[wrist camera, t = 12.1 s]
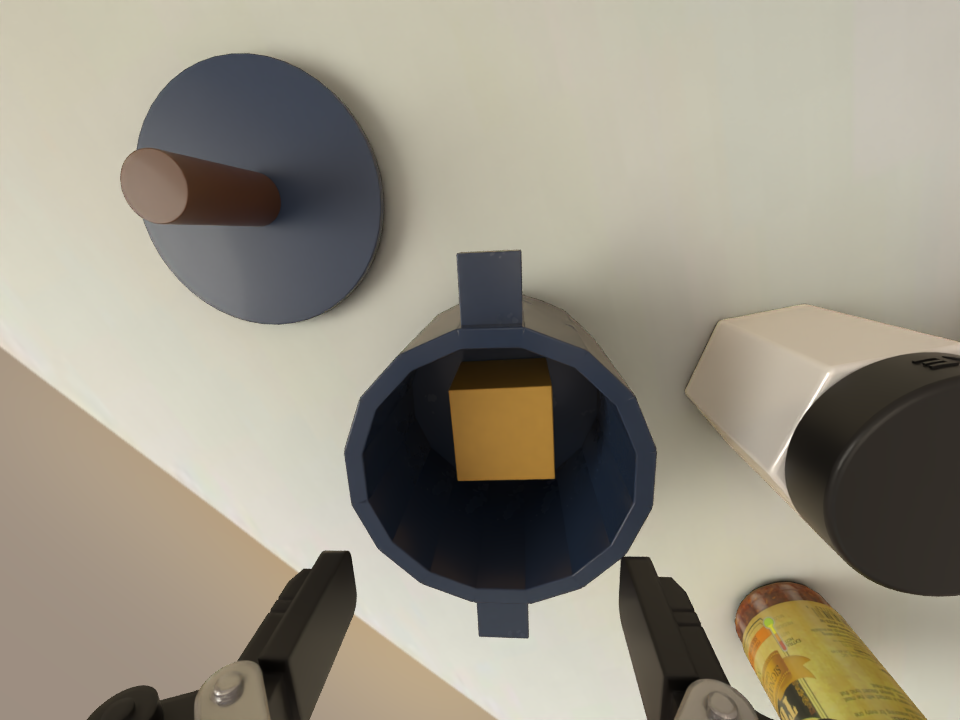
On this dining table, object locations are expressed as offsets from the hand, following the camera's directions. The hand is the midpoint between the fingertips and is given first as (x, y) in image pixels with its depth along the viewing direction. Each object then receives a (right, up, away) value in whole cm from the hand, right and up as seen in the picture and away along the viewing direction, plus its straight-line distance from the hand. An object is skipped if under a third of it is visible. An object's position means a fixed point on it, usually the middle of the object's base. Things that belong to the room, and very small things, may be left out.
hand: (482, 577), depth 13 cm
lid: (-12, +15, +11) cm, 23 cm away
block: (+1, +4, +14) cm, 14 cm away
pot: (+1, +4, +14) cm, 15 cm away
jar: (+16, +5, +13) cm, 21 cm away
